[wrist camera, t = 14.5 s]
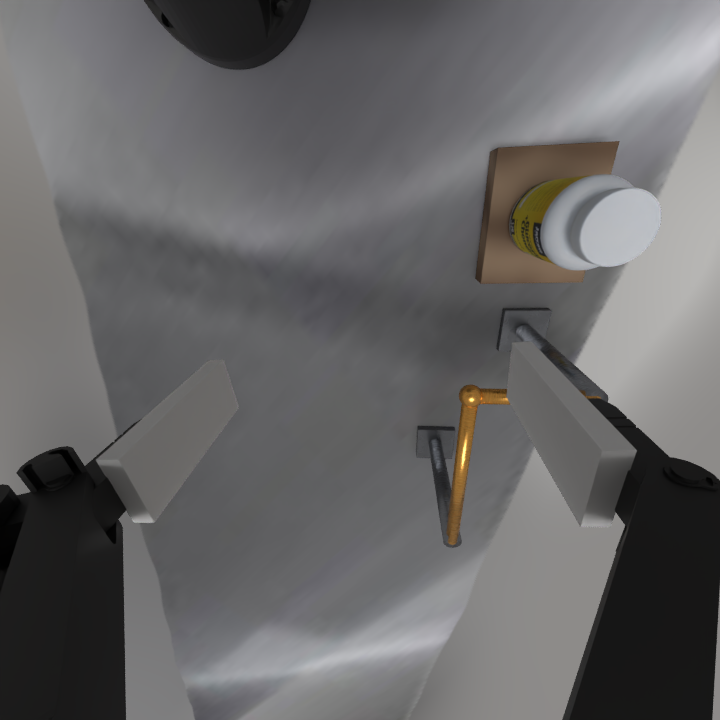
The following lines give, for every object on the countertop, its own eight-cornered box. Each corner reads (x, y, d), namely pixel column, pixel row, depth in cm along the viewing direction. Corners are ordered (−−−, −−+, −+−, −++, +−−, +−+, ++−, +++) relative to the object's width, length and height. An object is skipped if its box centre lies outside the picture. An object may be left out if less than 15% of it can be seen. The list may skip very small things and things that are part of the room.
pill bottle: (499, 200, 30) (554, 200, 20) (573, 166, 29) (675, 147, 18) (516, 265, 33) (573, 295, 22) (585, 237, 31) (682, 255, 21)
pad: (490, 151, 31) (498, 147, 29) (602, 145, 30) (619, 141, 28) (475, 278, 36) (480, 283, 34) (570, 277, 35) (582, 282, 33)
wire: (423, 309, 38) (442, 373, 24) (548, 308, 37) (647, 375, 23) (416, 453, 48) (426, 560, 33) (515, 457, 46) (569, 570, 32)
